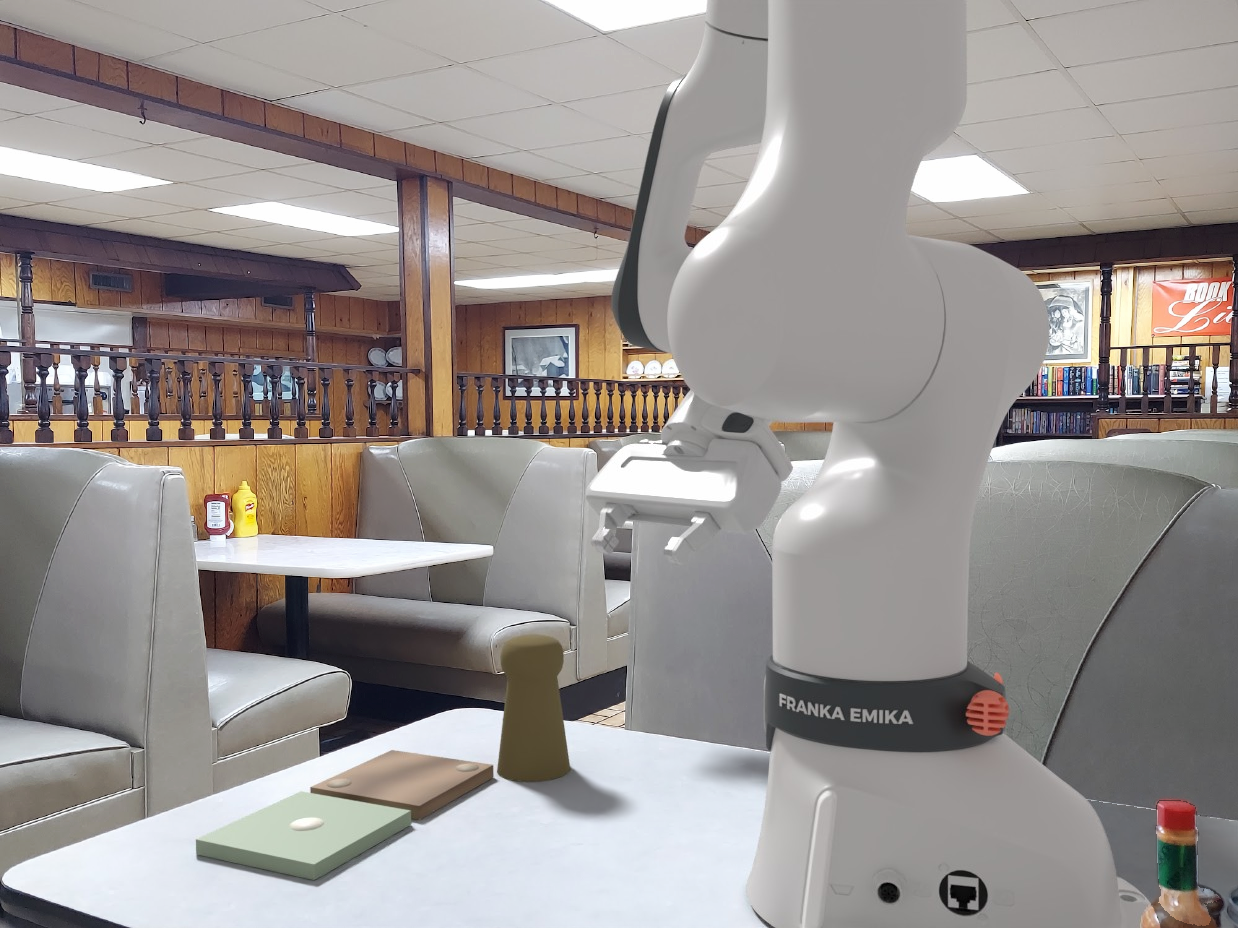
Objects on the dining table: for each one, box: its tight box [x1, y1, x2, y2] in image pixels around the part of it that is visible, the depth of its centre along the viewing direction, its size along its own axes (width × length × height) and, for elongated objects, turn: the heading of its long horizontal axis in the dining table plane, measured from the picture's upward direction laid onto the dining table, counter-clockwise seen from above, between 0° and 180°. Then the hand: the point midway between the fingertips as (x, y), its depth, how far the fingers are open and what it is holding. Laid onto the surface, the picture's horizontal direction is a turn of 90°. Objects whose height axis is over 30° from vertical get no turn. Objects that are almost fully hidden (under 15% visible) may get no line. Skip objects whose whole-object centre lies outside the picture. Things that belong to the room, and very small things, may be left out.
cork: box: [496, 633, 571, 783], centre depth 86 cm, size 6×6×11 cm
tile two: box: [309, 749, 495, 821], centre depth 82 cm, size 10×10×1 cm
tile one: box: [195, 790, 412, 881], centre depth 72 cm, size 10×10×1 cm
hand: (634, 554), depth 94 cm, fingers open, 8 cm apart
